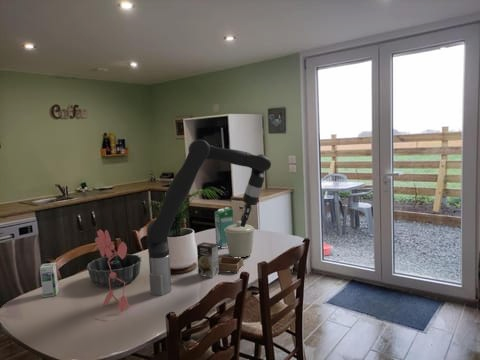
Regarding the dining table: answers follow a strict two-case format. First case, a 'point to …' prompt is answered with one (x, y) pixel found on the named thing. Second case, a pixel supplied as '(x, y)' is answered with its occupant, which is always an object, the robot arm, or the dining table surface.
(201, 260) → the coffee box
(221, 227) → the milk carton
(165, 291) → the robot arm
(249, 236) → the canister
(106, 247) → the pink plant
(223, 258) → the walnut crate
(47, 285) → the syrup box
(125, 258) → the bundt pan
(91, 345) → the dining table surface
